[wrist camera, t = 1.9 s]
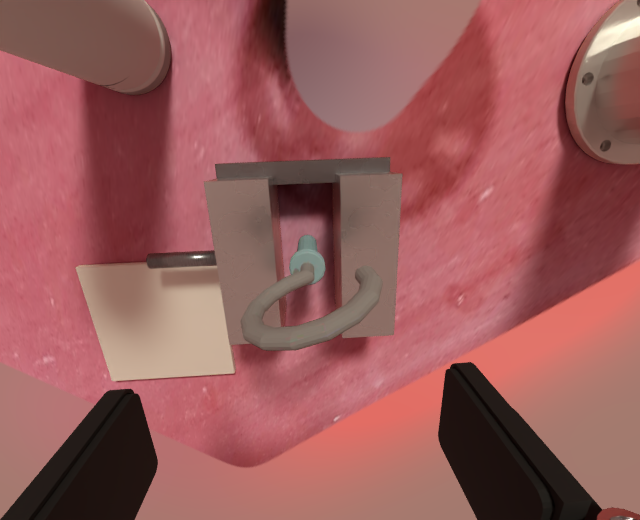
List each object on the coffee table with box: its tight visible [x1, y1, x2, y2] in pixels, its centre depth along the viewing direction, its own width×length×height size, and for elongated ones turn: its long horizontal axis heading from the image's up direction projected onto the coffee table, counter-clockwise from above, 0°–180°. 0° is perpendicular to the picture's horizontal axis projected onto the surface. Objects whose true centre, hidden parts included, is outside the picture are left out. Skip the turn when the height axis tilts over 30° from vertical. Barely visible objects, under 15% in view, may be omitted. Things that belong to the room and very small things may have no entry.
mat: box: [76, 262, 236, 381], centre depth 28 cm, size 12×12×1 cm
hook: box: [240, 235, 383, 351], centre depth 19 cm, size 8×2×15 cm, turn 108°
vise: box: [146, 157, 402, 345], centre depth 23 cm, size 19×13×6 cm
